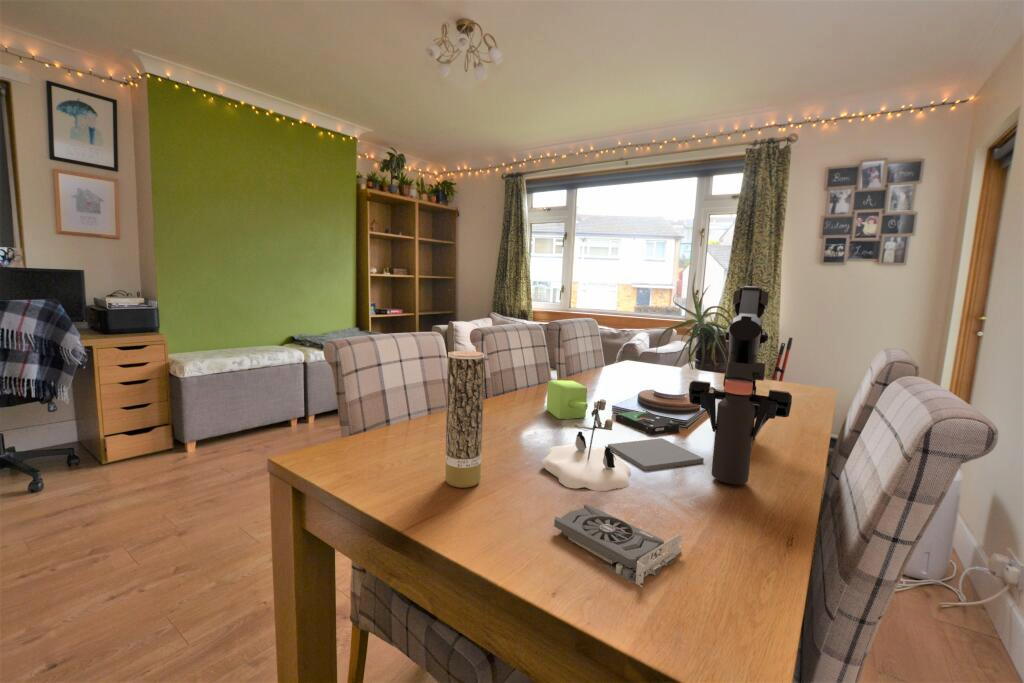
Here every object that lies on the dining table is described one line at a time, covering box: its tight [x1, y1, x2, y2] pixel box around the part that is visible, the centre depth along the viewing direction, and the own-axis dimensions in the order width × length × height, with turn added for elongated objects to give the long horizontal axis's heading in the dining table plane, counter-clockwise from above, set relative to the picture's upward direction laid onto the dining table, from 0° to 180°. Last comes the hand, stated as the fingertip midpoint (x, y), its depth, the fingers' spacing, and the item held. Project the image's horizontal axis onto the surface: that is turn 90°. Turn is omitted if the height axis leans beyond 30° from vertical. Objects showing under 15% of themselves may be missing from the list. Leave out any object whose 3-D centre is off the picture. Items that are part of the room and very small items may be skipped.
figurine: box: [541, 399, 632, 492], centre depth 96 cm, size 20×18×16 cm
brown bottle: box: [711, 379, 756, 486], centre depth 93 cm, size 7×7×20 cm
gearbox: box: [546, 379, 589, 420], centre depth 138 cm, size 18×10×10 cm, turn 16°
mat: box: [607, 437, 704, 472], centre depth 108 cm, size 16×14×1 cm
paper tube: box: [444, 350, 485, 489], centre depth 88 cm, size 7×7×25 cm
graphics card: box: [553, 504, 683, 588], centre depth 70 cm, size 17×4×12 cm
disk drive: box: [615, 409, 680, 436], centre depth 131 cm, size 10×3×15 cm
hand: (733, 434), depth 92 cm, fingers closed on brown bottle, 7 cm apart
